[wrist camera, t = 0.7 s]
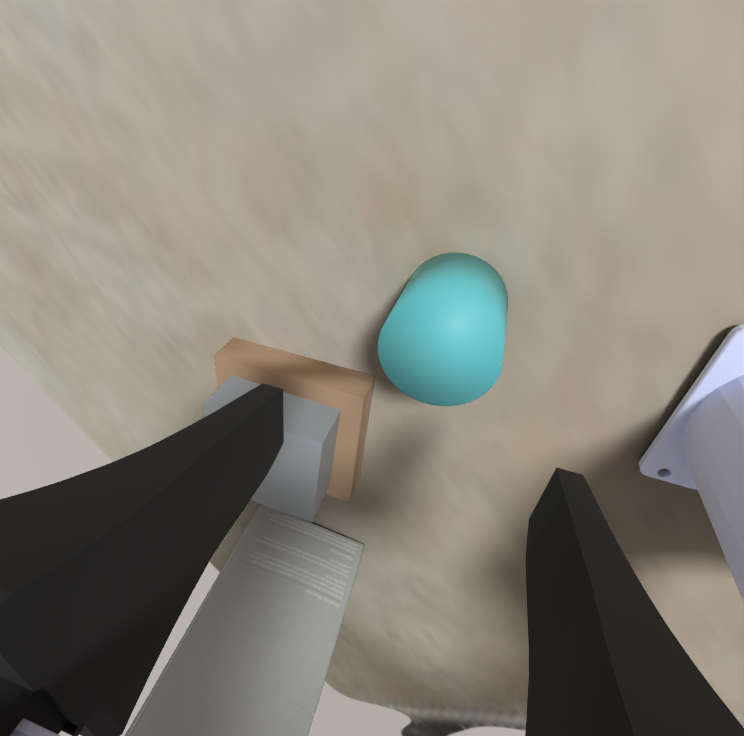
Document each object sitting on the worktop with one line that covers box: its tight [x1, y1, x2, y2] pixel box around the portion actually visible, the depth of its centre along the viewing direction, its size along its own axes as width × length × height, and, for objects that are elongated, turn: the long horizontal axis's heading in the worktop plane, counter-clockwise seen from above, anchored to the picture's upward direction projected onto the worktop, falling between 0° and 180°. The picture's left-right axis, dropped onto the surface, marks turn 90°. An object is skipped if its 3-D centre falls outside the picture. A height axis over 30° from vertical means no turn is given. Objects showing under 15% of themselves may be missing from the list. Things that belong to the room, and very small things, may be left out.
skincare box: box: [125, 504, 365, 736], centre depth 26 cm, size 8×7×16 cm
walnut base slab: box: [214, 338, 375, 502], centre depth 25 cm, size 8×8×2 cm
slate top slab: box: [203, 375, 341, 522], centre depth 23 cm, size 6×6×2 cm
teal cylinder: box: [378, 253, 508, 406], centre depth 17 cm, size 4×4×4 cm
